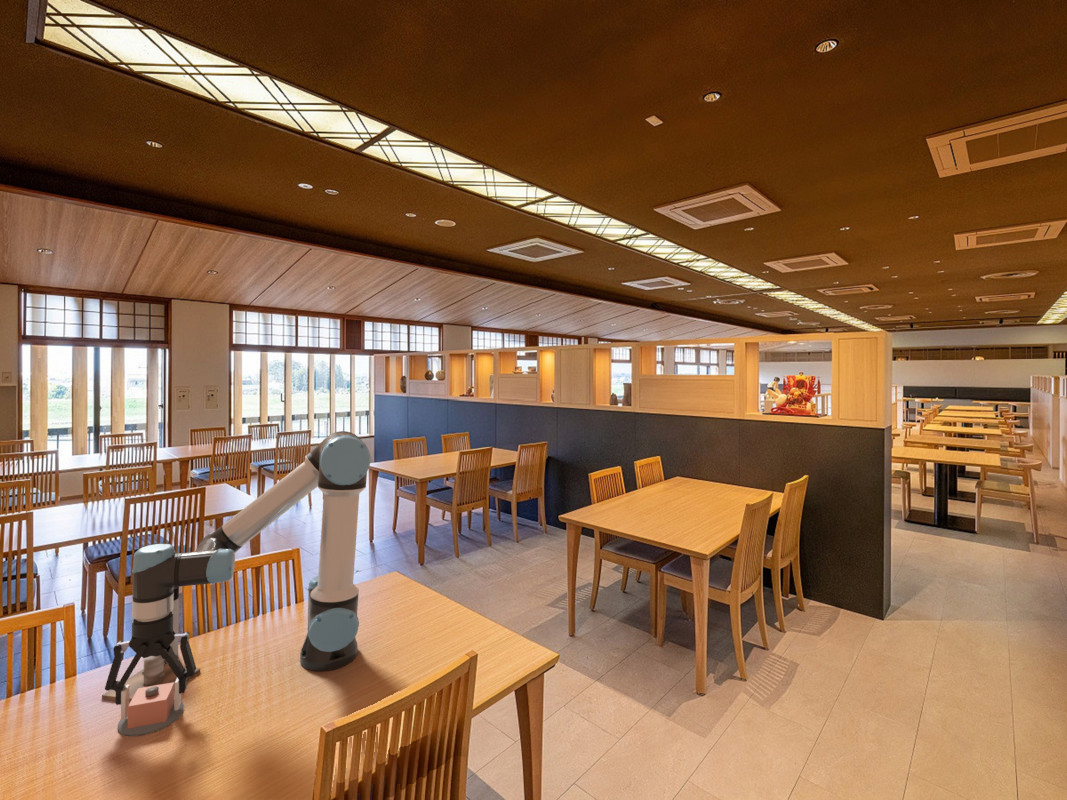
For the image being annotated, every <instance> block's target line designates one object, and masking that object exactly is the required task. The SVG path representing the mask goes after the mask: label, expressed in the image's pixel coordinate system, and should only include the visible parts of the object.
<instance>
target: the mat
mask: <svg viewBox="0 0 1067 800" xmlns="http://www.w3.org/2000/svg"><path fill="white" fill-rule="evenodd" d="M184 706H185V705H184V703H183V702H182V701H181V704H180V707H179V709H178V710H174V704H173V706H172V709H171V711H170V713H169V716H168V718H167V720H166V721H165V722H160V723H155V724H150V725H145V726H140V727H134V728H129V729H128V715H127V717H126V719H125V720H122V721H121V718H120V719H119V721H118V723H117V731H118V733H119V734H121V735H123V736H126V737H139V736H145V735H149V734H152V733H156V732H159V731H161V730H163V729H165V728H167V727H168V726H170V725H172V724H173V723H175V722H176V721H177V720H179V719H180V717H181V716H182V715H183V714H184V711H185V709H184Z"/></svg>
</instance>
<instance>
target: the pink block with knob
mask: <svg viewBox="0 0 1067 800" xmlns="http://www.w3.org/2000/svg"><path fill="white" fill-rule="evenodd" d="M174 697H175V691H174V682H173V683H167V684H161V685H155V686H149V687H143V688H138V689H137V691H136V693H135V695H134V697H133V698H132V700H131V702H130V703H129V705H128V729H129V728H134V727H140V726H145V725H150V724H155V723H160V722H165V721H166V720H167V718H168V716H169V713H170V711H171V709H172V706H173V704H174Z"/></svg>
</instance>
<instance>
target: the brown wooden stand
mask: <svg viewBox="0 0 1067 800" xmlns="http://www.w3.org/2000/svg"><path fill="white" fill-rule="evenodd" d="M184 668H185V669H186V667H185V666H184ZM200 673H201V667H200V668H199V667H196V670H195V673H194V675H193V676H191V677H190V676H189V677H187V683H188V682H189V681H191V680H192V679H193V678H195V677H196V676H198V675H199V674H200ZM176 679H177V676H176V675H175V674H174V672H173V671H172V669H171V668H170V666H169V665H168V664H164V659H163V658H162V657H161V655H160V656H150V657H147V658H143V669H141V670H140V671H138V672H136V673H135V674H133V675H132V676H129V678H128V680H127V681H126V683H125V685H129V704H130V702H131V700H132V698H133V697H134V695H135V693H136V691H137V689H138V688H143V687H149V686H155V685H161V684H167V683H173V682H174V692H175V681H176ZM101 700H104V701H113V702H116V692H115V691H114V690H109V691H106V692H105V693H103V694H102V695H101Z"/></svg>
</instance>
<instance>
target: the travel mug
mask: <svg viewBox="0 0 1067 800" xmlns="http://www.w3.org/2000/svg"><path fill="white" fill-rule="evenodd" d="M173 589H174V599H173V610H172V612H173V631H174V632H175V634H180V633H179V632H180V631H179V627H180V626H179V625H180V623H179V619H180V618H179V617H180V613H179V612H180V596H179V594H180V587H174V588H173ZM170 645H171V647H172V649H173V652H174V653H175V654H176V656H177V657H178V656H179V645H178V644H177V641H176V640H174V641H173V642H172V643H171V644H170ZM178 658H179V657H178ZM167 664H168V663H167V662H166V661H165V659H164V665H167Z"/></svg>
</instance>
